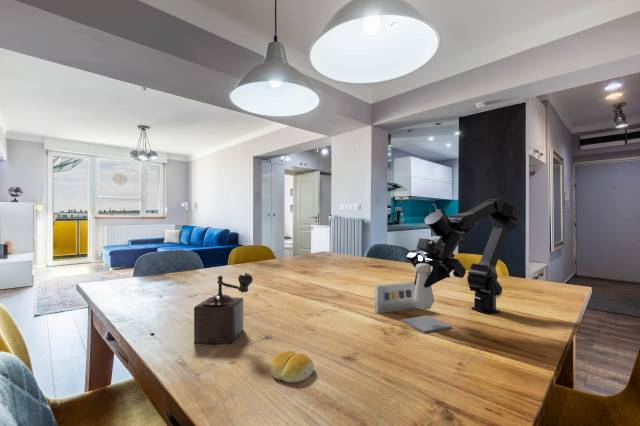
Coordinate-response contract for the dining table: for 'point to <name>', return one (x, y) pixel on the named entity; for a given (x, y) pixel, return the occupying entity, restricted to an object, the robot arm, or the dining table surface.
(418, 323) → the slate pad
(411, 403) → the dining table surface
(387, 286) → the breaker panel
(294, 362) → the bread roll
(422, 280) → the salt shaker
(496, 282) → the robot arm
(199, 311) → the manual coffee grinder
